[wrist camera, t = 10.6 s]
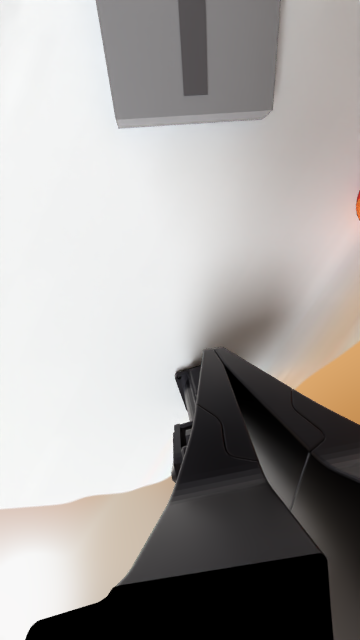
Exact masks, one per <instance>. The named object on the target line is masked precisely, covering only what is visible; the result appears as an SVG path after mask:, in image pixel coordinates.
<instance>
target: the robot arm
mask: <svg viewBox="0 0 360 640" xmlns="http://www.w3.org/2000/svg"><path fill="white" fill-rule="evenodd" d="M178 376H181V377H178ZM175 379H176V382H177V385H178V388H179V391H180V393H181V396H182V399H183V402H184V404H185V407H186V410H187V412H188V415H189V420H190V422H187V423H184V424H177V425H174V433H173V467H172V472H171V474H172V480H173V481H174V482H175V483H176V484H175V487H174V490H173V493H172V495H171V498H170V500H169V502H168V504H167V506H166V508H165V510H164V511H163V514H162V515H161V517H160V519H159V520H158V522H157V524H156V526H155V527H154V529H153V531H152V533H151V534H150V536H149V538H148V540H147V541H146V543H145V545H144V547H143V548H142V550H141V552H140V554H139V555H138V557H137V559H136V561H135V562H134V564H133V566H132V568H131V569H130V571H129V572H128V573H127V575H126V576H125V577H124V578H123V579H122V580H121V581H120V582H119V583H118V584H117V585H116V586H115V587H114V588H112V590H111V591H110V593H109V594H108V596H107V597H106V598H104V599H103V600H101V601H100V602H98V603H95V604H92V605H88V606H85V607H82V608H78V609H75V610H72V611H68V612H65V613H62V614H59V615H55V616H52V617H49V618H46V619H42V620H39V621H37V622H36V623H35V624H34V625H33V626H32V627H31V628H30V630H29V632H28V634H27V636H26V639H25V640H360V425H359V424H357V423H355V422H353V421H351V420H349V419H347V418H345V417H343V416H341V415H339V414H337V413H335V412H333V411H331V410H329V409H327V408H326V407H324V406H322V405H320V404H318V403H316V402H315V401H313V400H311V399H309V398H308V397H306V396H304V395H302V394H301V393H299V392H297V391H296V390H294V389H292V388H291V387H289V386H287V385H286V384H284V383H282V382H281V381H279V380H277V379H276V378H274V377H272V376H271V375H269V374H267V373H266V372H264V371H262V370H261V369H259V368H257V367H256V366H254V365H252V364H251V363H249V362H247V361H246V360H244V359H242V358H241V357H239V356H237V355H236V354H234V353H232V352H231V351H229V350H227V349H226V348H224V347H218V348H214V349H212V348H211V349H204V350H203V356H202V364H201V366H198V367H195V368H191V369H188V370H185V371H181V372H178V373H176V374H175Z"/></svg>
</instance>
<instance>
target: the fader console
mask: <svg viewBox="0 0 360 640" xmlns="http://www.w3.org/2000/svg"><path fill="white" fill-rule="evenodd" d="M280 1H281V0H96V5H97V11H98V17H99V22H100V28H101V34H102V40H103V46H104V52H105V58H106V64H107V70H108V76H109V82H110V88H111V94H112V100H113V106H114V112H115V118H116V122H117V125H118V128H134V127H149V126H165V125H180V124H196V123H211V122H227V121H242V120H258V119H263V118H264V117H265V116H267V115H268V114H269V113H270V112H271V111H272V110H273V97H274V83H275V70H276V56H277V42H278V29H279V15H280Z"/></svg>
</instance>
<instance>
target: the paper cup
mask: <svg viewBox="0 0 360 640" xmlns="http://www.w3.org/2000/svg"><path fill="white" fill-rule="evenodd" d="M356 211H357V216H358V218H359V220H360V191H359V194H358V197H357V203H356Z"/></svg>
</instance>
